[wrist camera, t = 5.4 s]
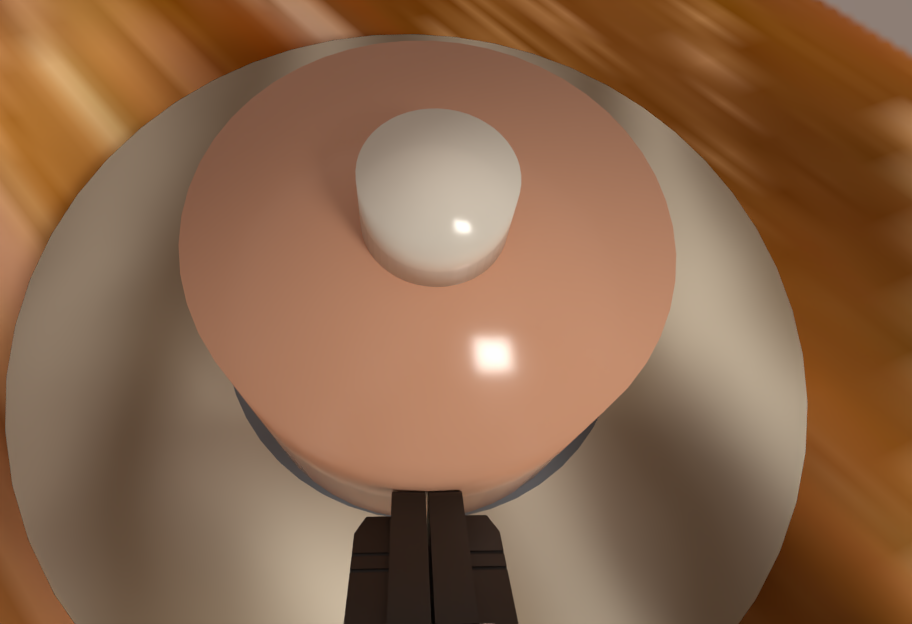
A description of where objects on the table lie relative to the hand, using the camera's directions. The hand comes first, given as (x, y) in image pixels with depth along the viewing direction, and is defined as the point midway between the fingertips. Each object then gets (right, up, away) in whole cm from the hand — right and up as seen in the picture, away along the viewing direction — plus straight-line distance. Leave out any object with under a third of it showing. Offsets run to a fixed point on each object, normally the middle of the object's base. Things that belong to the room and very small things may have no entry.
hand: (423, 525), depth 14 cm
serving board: (0, +4, +7) cm, 8 cm away
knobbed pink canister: (0, +3, +6) cm, 7 cm away
